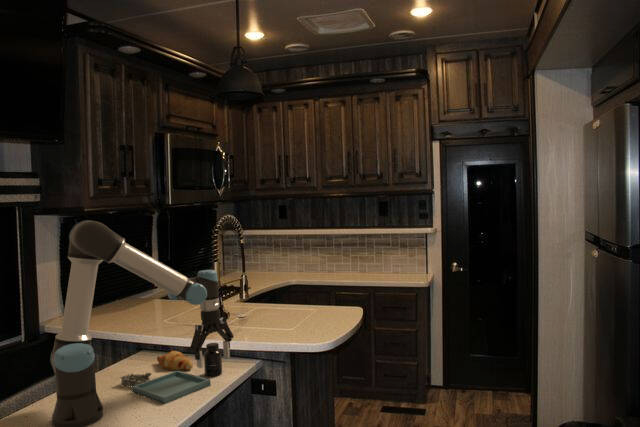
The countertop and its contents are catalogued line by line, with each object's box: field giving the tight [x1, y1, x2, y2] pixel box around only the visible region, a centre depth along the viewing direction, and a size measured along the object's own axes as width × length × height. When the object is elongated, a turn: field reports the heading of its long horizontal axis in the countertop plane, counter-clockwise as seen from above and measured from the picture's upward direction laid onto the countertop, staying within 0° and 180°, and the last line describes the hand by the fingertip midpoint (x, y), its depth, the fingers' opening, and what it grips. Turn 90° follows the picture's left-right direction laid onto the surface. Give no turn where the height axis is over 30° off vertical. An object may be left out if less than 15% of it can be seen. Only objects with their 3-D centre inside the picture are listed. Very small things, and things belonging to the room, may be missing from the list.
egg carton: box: [119, 372, 152, 388], centre depth 198 cm, size 11×8×4 cm
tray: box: [131, 370, 212, 405], centre depth 190 cm, size 20×20×2 cm
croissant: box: [156, 350, 194, 371], centre depth 216 cm, size 21×10×8 cm, turn 57°
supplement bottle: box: [203, 342, 223, 378], centre depth 205 cm, size 7×7×12 cm
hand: (213, 362), depth 205 cm, fingers open, 13 cm apart
